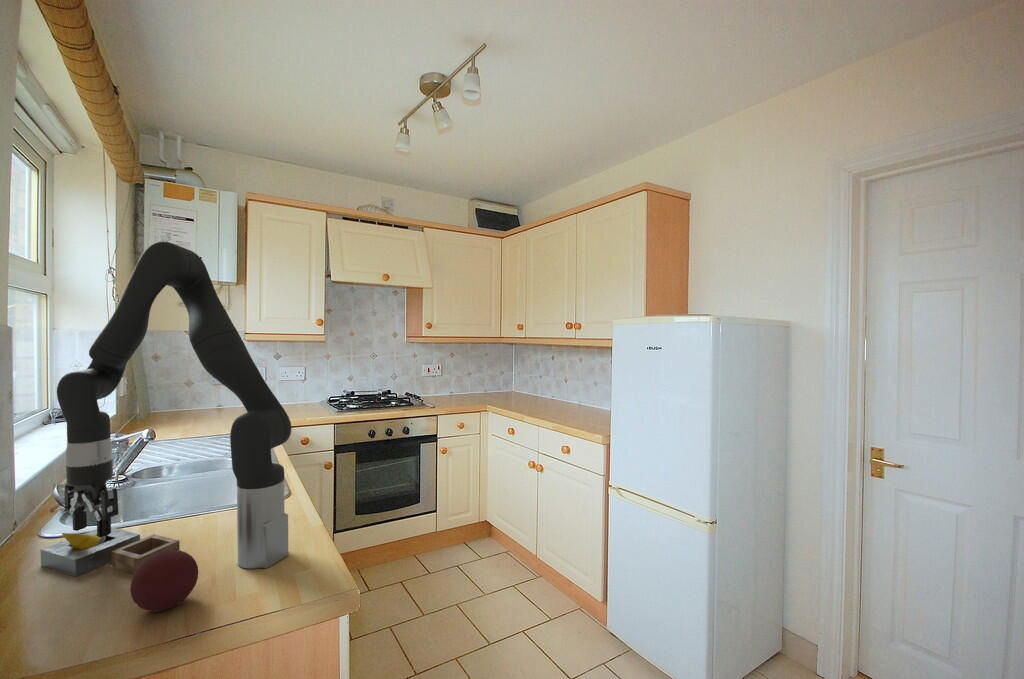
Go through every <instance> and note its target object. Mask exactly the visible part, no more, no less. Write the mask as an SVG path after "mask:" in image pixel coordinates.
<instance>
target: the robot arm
mask: <svg viewBox="0 0 1024 679" xmlns="http://www.w3.org/2000/svg"><path fill="white" fill-rule="evenodd" d="M210 276H211V275H210V274H209V271H208V269H207V267H206V264H205V263H204V261H203V259H202V258H201V257H200V256H199V255H198V254H197V253H196V252H194V251H192V250H190V249H188V248H185V247H183V246H181V245H178V244H176V243H173V242H170V241H169V242H168V241H162V240H161V241H156V242H154V243H151V244H150V245H149V246H148V247H146V248H145V249H144V251H143V252H142V254H141V256H140V257H139V259H138V261H137V263H136V266H135V268H134V270H133V272H132V275H131V276H130V279H129V281H128V283H127V284H126V286H125V290H124V292H123V294H122V296H121V298H120V300H119V303H118V304H117V307H116V308H115V311H114V312H113V314H112V315H111V317H110V318H109V320H108V322H107V324H106V325H105V326H104V328H103V329H102V330H101V332H100V333H99V335H98V336H97V337H96V339H95V340H94V342H93V343H92V344H91V346H90V348H89V349H88V350H89V351H88V356H89V357H90V359H91V362H90V363H89V364H88V367H87V368H86V369H81V370H75V371H70V372H68V373H66V374H64V375H63V376H62V377H61V378H60V380H58V384H57V386H56V396H57V397H56V398H57V401H58V405H59V407H60V410H61V412H62V415H63V418H64V420H65V421H66V422H65V424H66V449H65V471H66V472H65V473H66V474H65V475H66V477H65V478H66V484H65V485H64V509H65V510H66V511H69V513H70V515H72V516H71V517H72V531H75V532H76V531H78V532H79V531H81V530H83V529H86V528H87V527H88V524H87V523H88V522H87V520H88V518H87V511H86V510H87V508H88V510H89V512H90V513H92V514H93V515H94V517H95V518H96V529H97V536H98V537H103V536H106V535H109V534H110V533H111V527H112V521H111V520H112V519H111V518H112V517H116V516H118V515H119V502H118V489H117V488H116V487H113V488H110V489H108V488H107V484H106V483H107V482H108V481H109V480H111V479H112V478H113V476H114V460H113V459H114V458H113V457H114V456H113V443H112V438H111V436H112V435H111V417H110V415H109V414H108V413H107V412H106V411H103V410H102V411H101V410H100V408H99V403H98V400H102V399H104V398H106V397H108V396H110V395H111V394H112V393H113V392H114V391H115V390H117V389H116V388H117V387H118V386H119V384H120V382H121V380H122V378H123V375H124V373H125V370H126V367H127V363H128V362H129V361H130V360H131V358H132V357H133V355H134V354H135V353H136V351H137V350H138V348H140V347H139V346H140V345H141V344H142V342H144V338H145V336H146V334H147V330H148V327H149V320H150V314H151V313H150V312H151V309H152V305H153V303H154V301H155V299H156V298H157V297H158V295H159V294H160V293H161V292H162V291H163V289H164V288H165V287H167V286H168V287H171V288H173V290H175V292H176V293H177V295H178V296H179V298H180V300H181V301H182V303H183V305H184V306H185V308H186V311H187V314H188V335H189V337H188V338H189V341H190V345H191V347H192V349H193V351H194V353H195V355H196V356H197V359H198V360H199V362H200V364H201V365H202V367H203V368H204V370H205V371H206V372H207V373H208V374H209V375H210V376H211V377H213V378H214V379H215V380H216V381H218V382H219V383H221V384H222V385H223V386H224V387H225V388H227V389H229V391H231V392H232V393H233V394H235V396H236V397H237V398H238V399H239V401H240V402H241V404H242V405H243V407H244V408H245V410H246V412H245V413H242V414H240V415H239V416H237V417H236V418H235V419H234V420H233V422H232V425H231V429H230V435H229V442H230V456H231V458H230V459H231V467H232V472H233V475H234V478H236V520H237V522H236V523H237V524H236V526H237V527H236V528H237V530H236V531H237V536H236V538H237V564H238V566H239V567H241V568H243V569H249V570H250V569H261V568H262V569H268V568H269V567H271V566H273V565H274V564H275V563H278V562H279V561H281V560H282V559H284V558H286V557H287V556H289V514H288V513H285V508H286V507H285V468H284V466H283V465H281V464H279V463H276V462H275V463H274V462H273V460H272V449H274V448H276V447H279V446H281V445H283V444H284V443H286V442H287V441H288V440H289V439H290V437H291V435H292V434H291V433H292V423H291V420H290V416H289V415H288V413H287V412H286V410H285V408H284V407H283V406H282V404H281V403H280V401H279V400H278V398H277V397H276V395H275V394H274V393H273V391H272V390H271V388H270V387H269V386H268V384H267V382H266V381H265V379H264V376H262V373H261V372H260V370H259V368H258V367H257V364H256V363H255V362H254V360H253V358H252V356H251V355H250V353H249V351H248V348H247V346H246V344H245V342H244V340H243V338H242V337H241V335H240V333H239V331H238V330H237V328H236V327H235V325H234V324H233V322H232V319H231V318H230V315H229V314H228V311H226V308H225V307H224V305H223V303H222V302H221V300H220V298H219V296H218V294H217V292H216V289H215V286H214V284H213V281H212V279H211V277H210ZM71 500H72V501H71ZM111 507H112V508H111Z"/></svg>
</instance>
